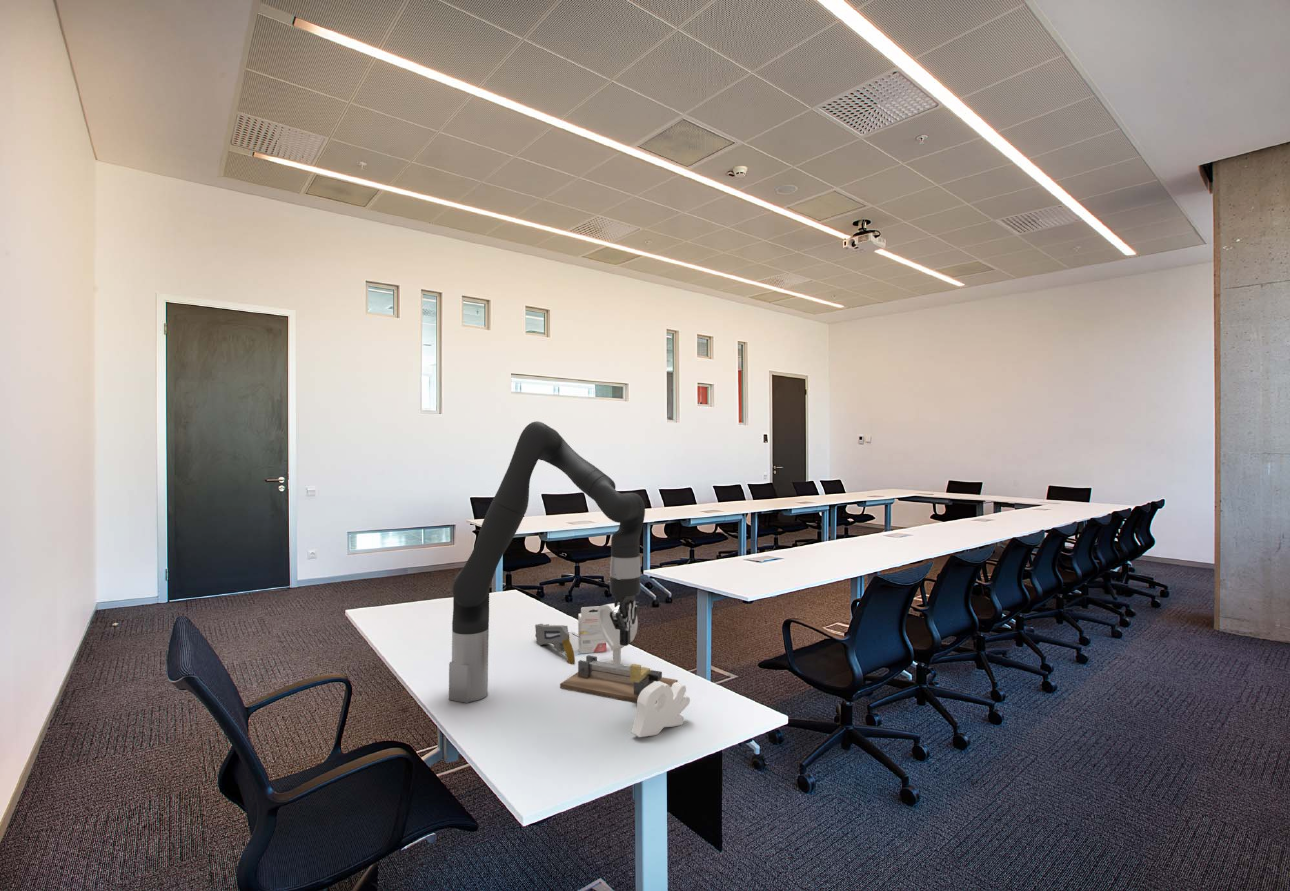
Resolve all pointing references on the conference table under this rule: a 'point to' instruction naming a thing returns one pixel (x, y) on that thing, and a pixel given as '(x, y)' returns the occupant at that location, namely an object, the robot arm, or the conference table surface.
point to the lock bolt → (638, 673)
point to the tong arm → (620, 669)
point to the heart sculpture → (613, 632)
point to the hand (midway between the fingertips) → (624, 644)
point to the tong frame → (610, 675)
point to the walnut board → (605, 687)
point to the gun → (555, 638)
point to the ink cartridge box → (590, 632)
